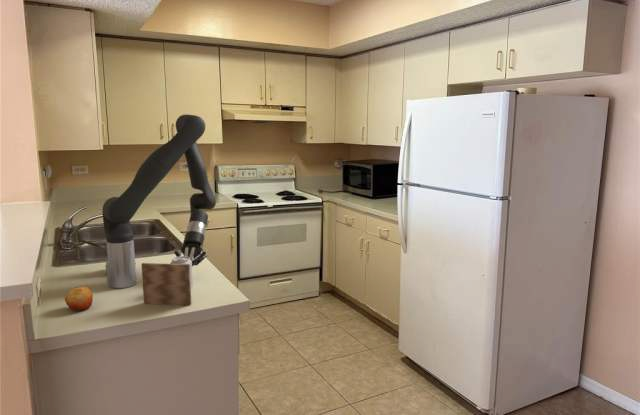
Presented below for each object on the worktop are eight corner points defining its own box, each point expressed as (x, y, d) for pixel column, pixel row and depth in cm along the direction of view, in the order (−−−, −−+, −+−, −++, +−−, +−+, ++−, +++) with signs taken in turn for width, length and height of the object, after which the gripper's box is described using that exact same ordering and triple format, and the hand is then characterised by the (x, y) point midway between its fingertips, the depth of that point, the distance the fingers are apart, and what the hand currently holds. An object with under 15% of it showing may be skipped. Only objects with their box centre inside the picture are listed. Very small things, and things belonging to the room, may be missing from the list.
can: (171, 293, 161) (169, 261, 159) (172, 286, 168) (170, 255, 166) (192, 292, 163) (191, 260, 161) (193, 285, 170) (191, 254, 168)
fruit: (100, 297, 153) (93, 282, 148) (92, 317, 147) (84, 302, 142) (76, 297, 153) (68, 282, 148) (67, 317, 147) (58, 302, 142)
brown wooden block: (144, 303, 152) (141, 264, 149) (151, 297, 158) (149, 258, 155) (190, 305, 151) (188, 265, 149) (196, 298, 157) (194, 259, 154)
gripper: (176, 229, 176) (165, 269, 166) (209, 230, 175) (200, 270, 165) (181, 239, 182) (171, 278, 172) (213, 240, 181) (205, 279, 172)
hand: (186, 274), depth 169 cm, fingers closed
